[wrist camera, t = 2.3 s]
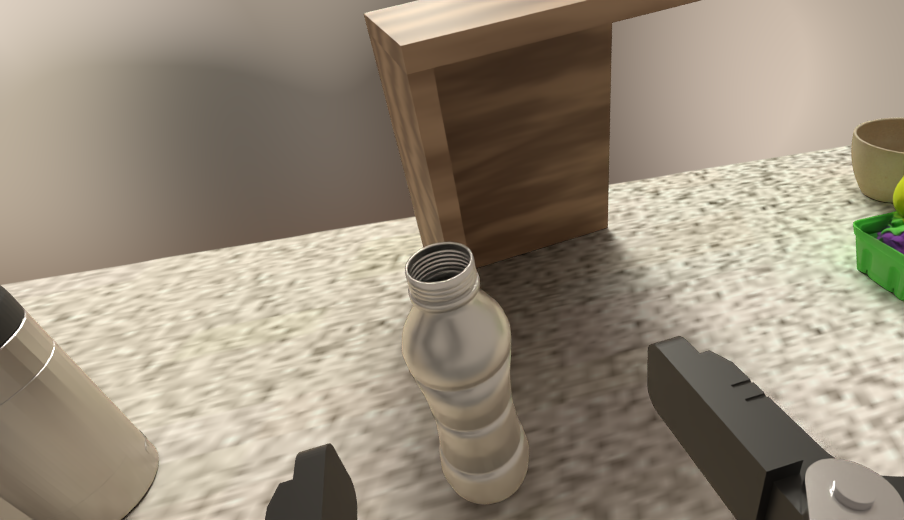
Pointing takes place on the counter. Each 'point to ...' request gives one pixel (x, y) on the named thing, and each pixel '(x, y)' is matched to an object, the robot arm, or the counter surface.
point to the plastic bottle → (464, 373)
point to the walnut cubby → (502, 116)
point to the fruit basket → (883, 246)
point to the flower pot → (878, 157)
